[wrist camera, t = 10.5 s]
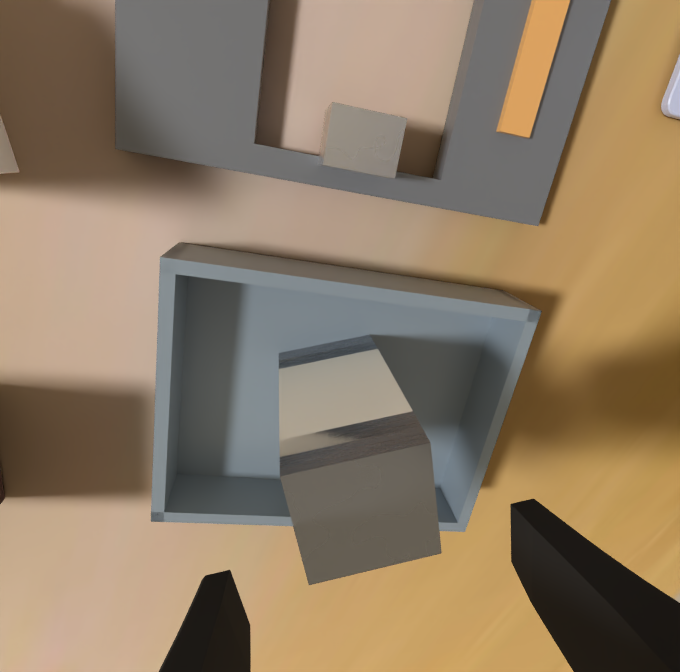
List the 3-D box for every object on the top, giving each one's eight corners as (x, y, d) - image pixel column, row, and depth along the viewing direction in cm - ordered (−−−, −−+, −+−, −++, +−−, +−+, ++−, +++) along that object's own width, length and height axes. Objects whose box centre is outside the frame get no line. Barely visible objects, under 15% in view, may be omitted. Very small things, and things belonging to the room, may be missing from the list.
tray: (504, 290, 20) (541, 311, 17) (442, 488, 23) (464, 531, 20) (179, 242, 17) (160, 257, 14) (167, 473, 21) (151, 521, 18)
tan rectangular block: (369, 334, 19) (430, 442, 11) (381, 412, 20) (441, 553, 13) (278, 352, 18) (279, 476, 11) (297, 430, 20) (309, 585, 13)
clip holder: (626, -103, 15) (706, -164, 12) (525, 223, 18) (568, 233, 16) (128, -281, 12) (82, -419, 9) (125, 150, 16) (91, 145, 13)
